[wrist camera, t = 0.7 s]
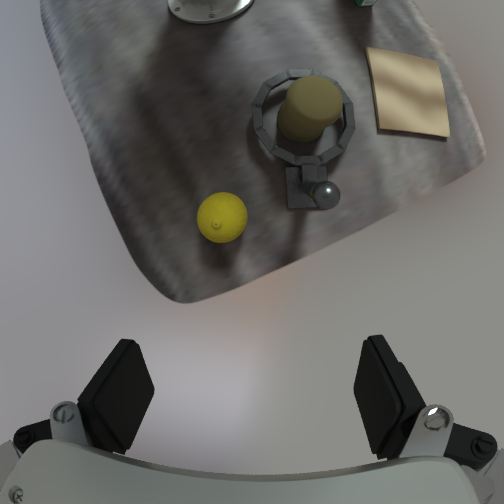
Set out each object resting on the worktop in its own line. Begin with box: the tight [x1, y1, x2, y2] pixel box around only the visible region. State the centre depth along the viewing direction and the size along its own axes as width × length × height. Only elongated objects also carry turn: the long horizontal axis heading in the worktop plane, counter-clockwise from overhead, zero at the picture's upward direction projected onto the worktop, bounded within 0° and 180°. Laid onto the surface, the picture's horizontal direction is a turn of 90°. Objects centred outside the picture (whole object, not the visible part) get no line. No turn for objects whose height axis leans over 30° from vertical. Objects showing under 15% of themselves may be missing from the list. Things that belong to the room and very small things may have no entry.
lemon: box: [197, 192, 248, 243], centre depth 30 cm, size 6×6×8 cm
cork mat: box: [365, 47, 450, 137], centre depth 27 cm, size 12×12×1 cm
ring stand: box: [252, 69, 355, 209], centre depth 25 cm, size 17×12×12 cm
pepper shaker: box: [277, 75, 343, 143], centre depth 25 cm, size 6×6×11 cm
